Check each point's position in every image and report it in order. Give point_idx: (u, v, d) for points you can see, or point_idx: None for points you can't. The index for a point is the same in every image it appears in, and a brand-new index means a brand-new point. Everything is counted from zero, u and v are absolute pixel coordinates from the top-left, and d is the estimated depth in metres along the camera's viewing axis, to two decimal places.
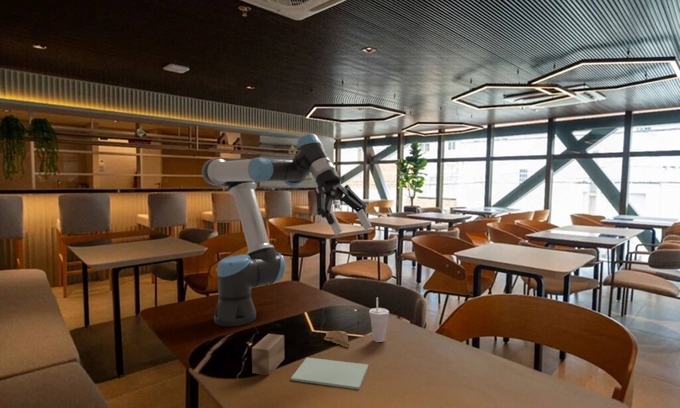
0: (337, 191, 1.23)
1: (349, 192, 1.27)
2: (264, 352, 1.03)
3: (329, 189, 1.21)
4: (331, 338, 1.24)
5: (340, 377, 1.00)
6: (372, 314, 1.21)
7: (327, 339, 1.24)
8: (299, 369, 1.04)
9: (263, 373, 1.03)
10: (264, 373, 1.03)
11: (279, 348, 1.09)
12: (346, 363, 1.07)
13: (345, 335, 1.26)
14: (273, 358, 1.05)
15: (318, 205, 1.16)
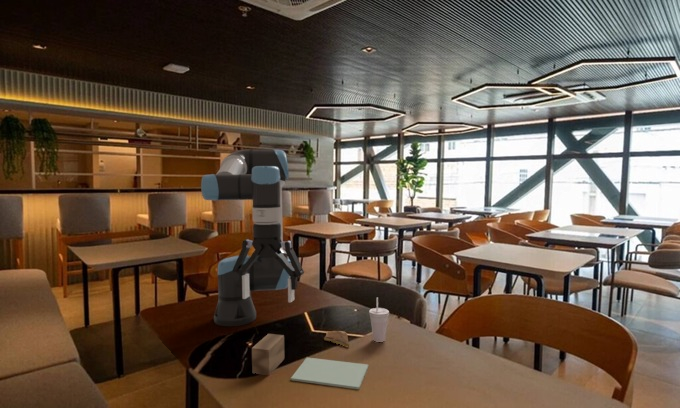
0: (266, 250, 1.05)
1: None
2: (264, 352, 1.03)
3: (256, 246, 1.06)
4: (331, 338, 1.24)
5: (340, 377, 1.00)
6: (372, 314, 1.21)
7: (327, 339, 1.24)
8: (299, 369, 1.04)
9: (263, 373, 1.03)
10: (264, 373, 1.03)
11: (279, 348, 1.09)
12: (346, 363, 1.07)
13: (345, 335, 1.26)
14: (273, 358, 1.05)
15: None
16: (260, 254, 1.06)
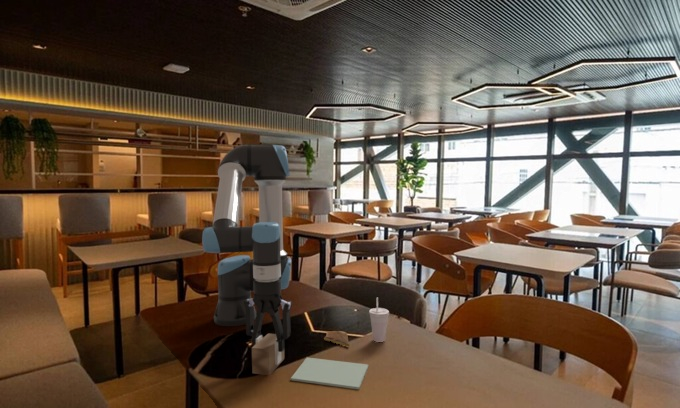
0: (266, 306, 1.06)
1: None
2: (264, 351, 1.03)
3: (257, 301, 1.07)
4: (331, 338, 1.24)
5: (340, 377, 1.00)
6: (372, 314, 1.21)
7: (327, 339, 1.24)
8: (299, 369, 1.04)
9: (263, 373, 1.03)
10: (264, 373, 1.03)
11: None
12: (346, 363, 1.07)
13: (345, 335, 1.26)
14: (273, 358, 1.05)
15: None
16: None
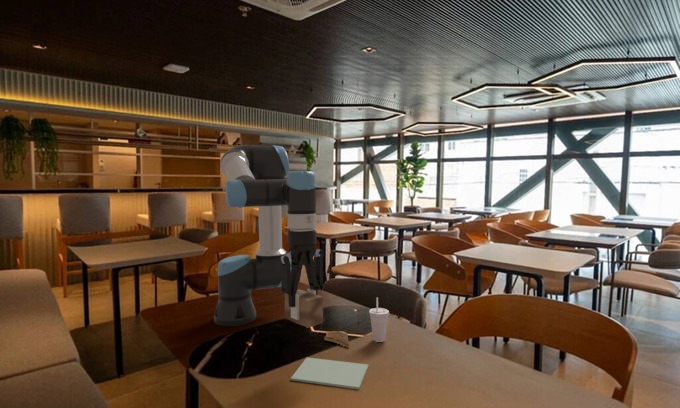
0: (305, 257, 1.02)
1: (318, 259, 1.06)
2: (318, 300, 1.01)
3: (297, 254, 1.01)
4: (331, 338, 1.24)
5: (340, 377, 1.00)
6: (372, 314, 1.21)
7: (327, 339, 1.24)
8: (299, 369, 1.04)
9: (317, 322, 1.01)
10: (318, 322, 1.01)
11: None
12: (346, 363, 1.07)
13: (345, 335, 1.26)
14: None
15: (283, 282, 0.99)
16: None
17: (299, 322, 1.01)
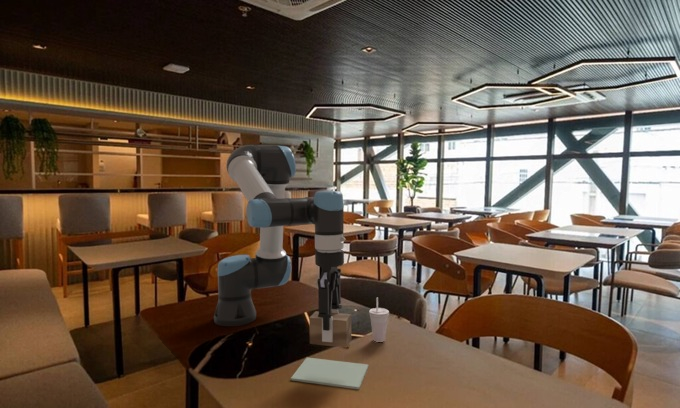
0: None
1: None
2: (349, 318, 1.02)
3: (331, 276, 0.99)
4: None
5: (340, 377, 1.00)
6: (372, 314, 1.21)
7: None
8: (299, 369, 1.04)
9: (349, 340, 1.02)
10: (350, 340, 1.02)
11: None
12: (346, 363, 1.07)
13: None
14: None
15: (321, 306, 0.96)
16: None
17: (333, 344, 1.00)
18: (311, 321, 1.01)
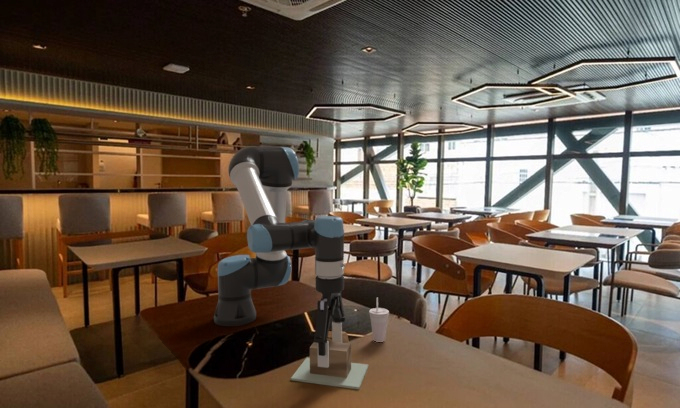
0: None
1: (338, 298, 1.08)
2: (349, 348, 1.03)
3: (330, 303, 0.99)
4: (331, 338, 1.24)
5: (340, 377, 1.00)
6: (372, 314, 1.21)
7: (327, 339, 1.24)
8: (299, 369, 1.04)
9: (349, 370, 1.03)
10: (349, 369, 1.03)
11: None
12: None
13: (345, 335, 1.26)
14: None
15: (318, 330, 0.94)
16: None
17: (333, 374, 1.01)
18: (311, 351, 1.02)
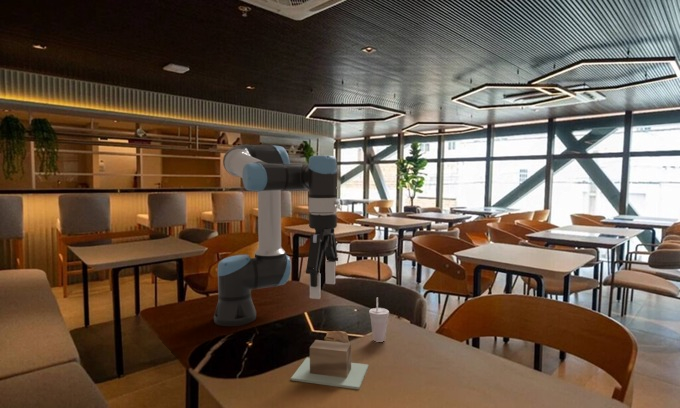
0: None
1: (331, 238, 1.10)
2: (349, 348, 1.03)
3: (323, 238, 1.02)
4: (332, 338, 1.24)
5: (340, 377, 1.00)
6: (372, 314, 1.21)
7: (327, 339, 1.24)
8: (299, 369, 1.04)
9: (349, 370, 1.03)
10: (349, 369, 1.03)
11: None
12: None
13: (345, 335, 1.26)
14: None
15: (310, 261, 0.96)
16: None
17: (333, 374, 1.01)
18: (311, 351, 1.02)
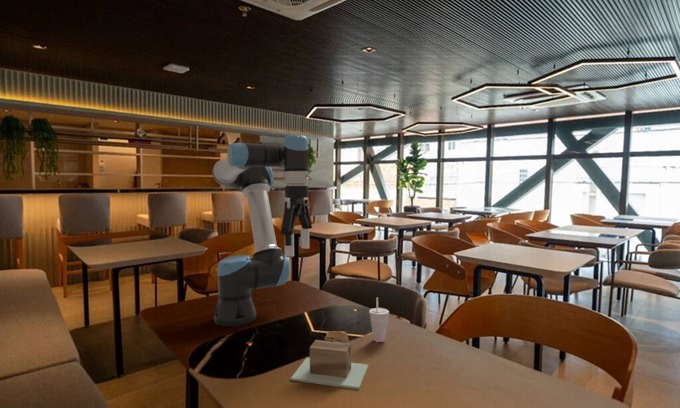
0: None
1: (305, 208, 1.28)
2: (349, 348, 1.03)
3: (296, 206, 1.19)
4: (332, 338, 1.24)
5: (340, 377, 1.00)
6: (372, 314, 1.21)
7: (328, 339, 1.24)
8: (299, 369, 1.04)
9: (349, 370, 1.03)
10: (349, 369, 1.03)
11: None
12: None
13: (345, 335, 1.26)
14: None
15: (284, 223, 1.14)
16: None
17: (333, 374, 1.01)
18: (311, 351, 1.02)
